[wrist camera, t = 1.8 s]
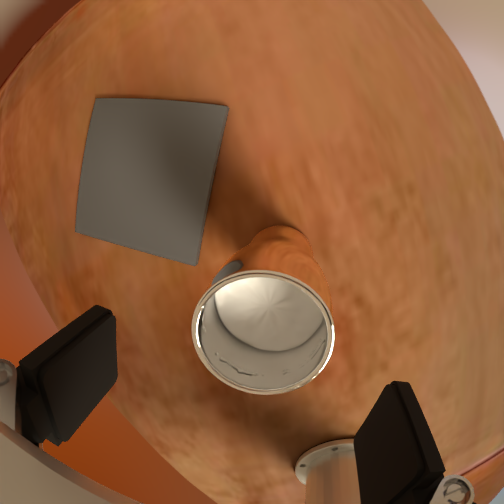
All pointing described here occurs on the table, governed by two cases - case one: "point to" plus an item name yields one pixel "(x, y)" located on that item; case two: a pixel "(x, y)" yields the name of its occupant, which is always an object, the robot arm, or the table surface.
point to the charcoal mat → (150, 174)
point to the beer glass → (266, 316)
